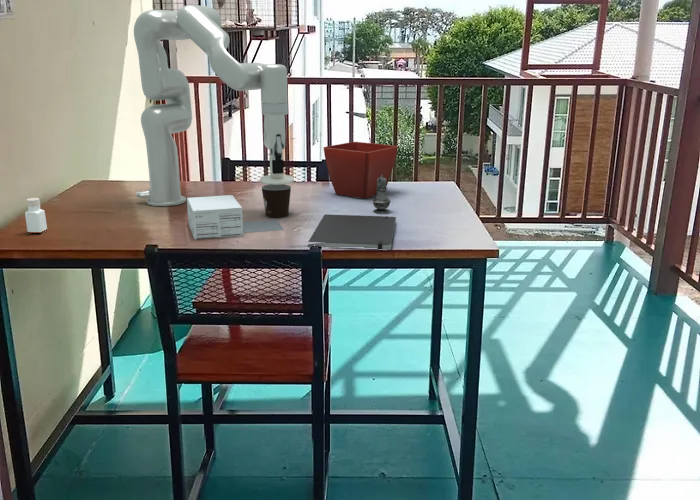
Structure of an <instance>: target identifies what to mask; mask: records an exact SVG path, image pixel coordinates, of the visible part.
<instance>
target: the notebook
mask: <svg viewBox="0 0 700 500" xmlns="http://www.w3.org/2000/svg"><path fill="white" fill-rule="evenodd" d="M396 220H397V217H396V216H388V215H386V216H382V215H356V214H355V215H354V214H353V215H352V214H329V213H328V214H324V215H323V216H322V218H321V220H320V222H318V225H317V226H316V228H315V230H314V231H313V233H312V234H311V236H310V238H309V239H308V244H307V246H308V248H311V247H310V246H314V245H315V246H322V247H364V248H377V249H390V248H391V249H392V245H393V239H392V238H394V233H395V232H394V231H395V226H396ZM391 244H392V245H391ZM391 249H390V250H391Z"/></svg>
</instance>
